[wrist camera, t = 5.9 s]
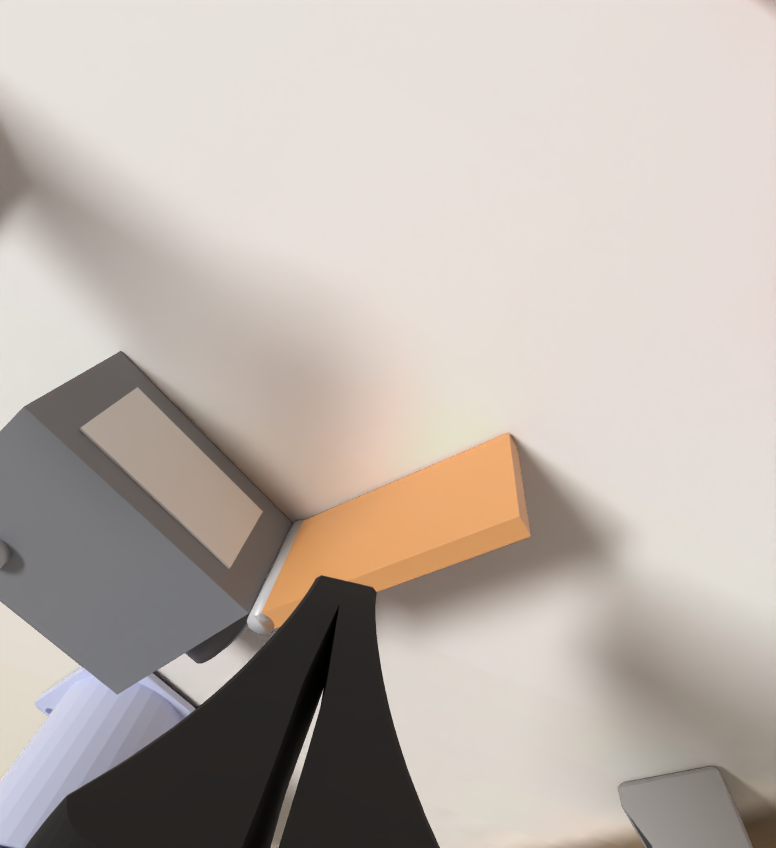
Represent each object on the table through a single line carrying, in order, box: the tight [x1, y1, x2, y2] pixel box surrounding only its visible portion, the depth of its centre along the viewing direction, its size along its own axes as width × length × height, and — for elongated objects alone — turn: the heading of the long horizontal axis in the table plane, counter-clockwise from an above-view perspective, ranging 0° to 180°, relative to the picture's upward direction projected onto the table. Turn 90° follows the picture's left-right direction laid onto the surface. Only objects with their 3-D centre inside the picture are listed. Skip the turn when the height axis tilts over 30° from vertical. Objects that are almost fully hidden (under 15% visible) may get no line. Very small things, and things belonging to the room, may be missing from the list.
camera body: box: [0, 351, 292, 695], centre depth 23 cm, size 12×8×6 cm
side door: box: [247, 432, 531, 635], centre depth 21 cm, size 10×1×6 cm, turn 120°
